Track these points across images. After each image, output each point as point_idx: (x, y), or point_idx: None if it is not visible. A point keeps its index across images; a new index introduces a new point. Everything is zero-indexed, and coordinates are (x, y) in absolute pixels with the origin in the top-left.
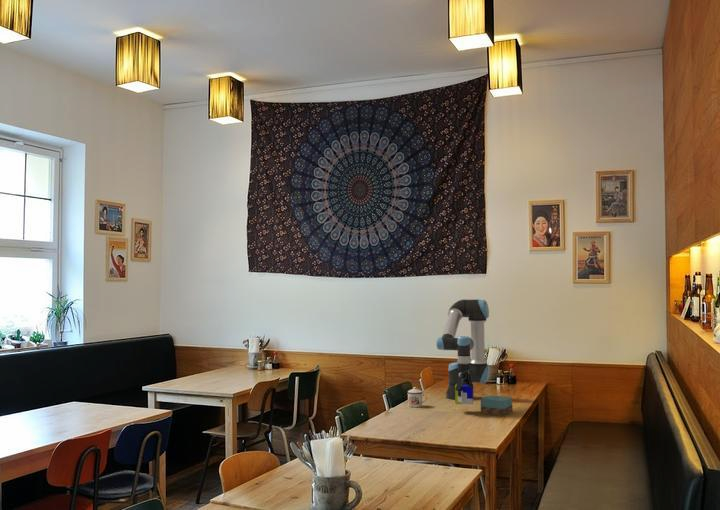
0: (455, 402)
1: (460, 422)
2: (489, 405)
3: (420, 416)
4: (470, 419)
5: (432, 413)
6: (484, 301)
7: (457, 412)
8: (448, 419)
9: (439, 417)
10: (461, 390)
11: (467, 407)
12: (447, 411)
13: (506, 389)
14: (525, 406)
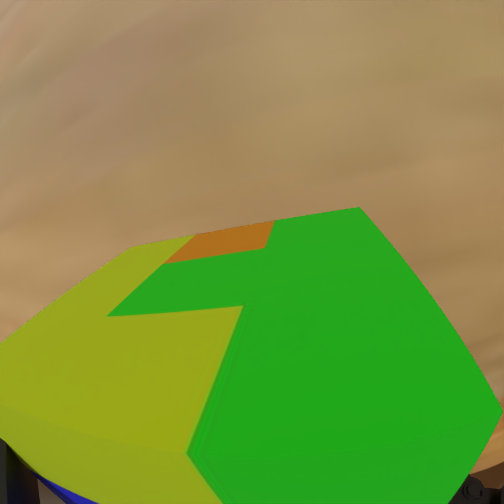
0: (123, 255)
1: (10, 303)
2: None
3: (20, 44)
4: None
5: (111, 42)
6: None
7: (240, 220)
8: (15, 229)
9: (26, 156)
10: None
11: (486, 255)
12: (246, 115)
13: None
14: (485, 466)
